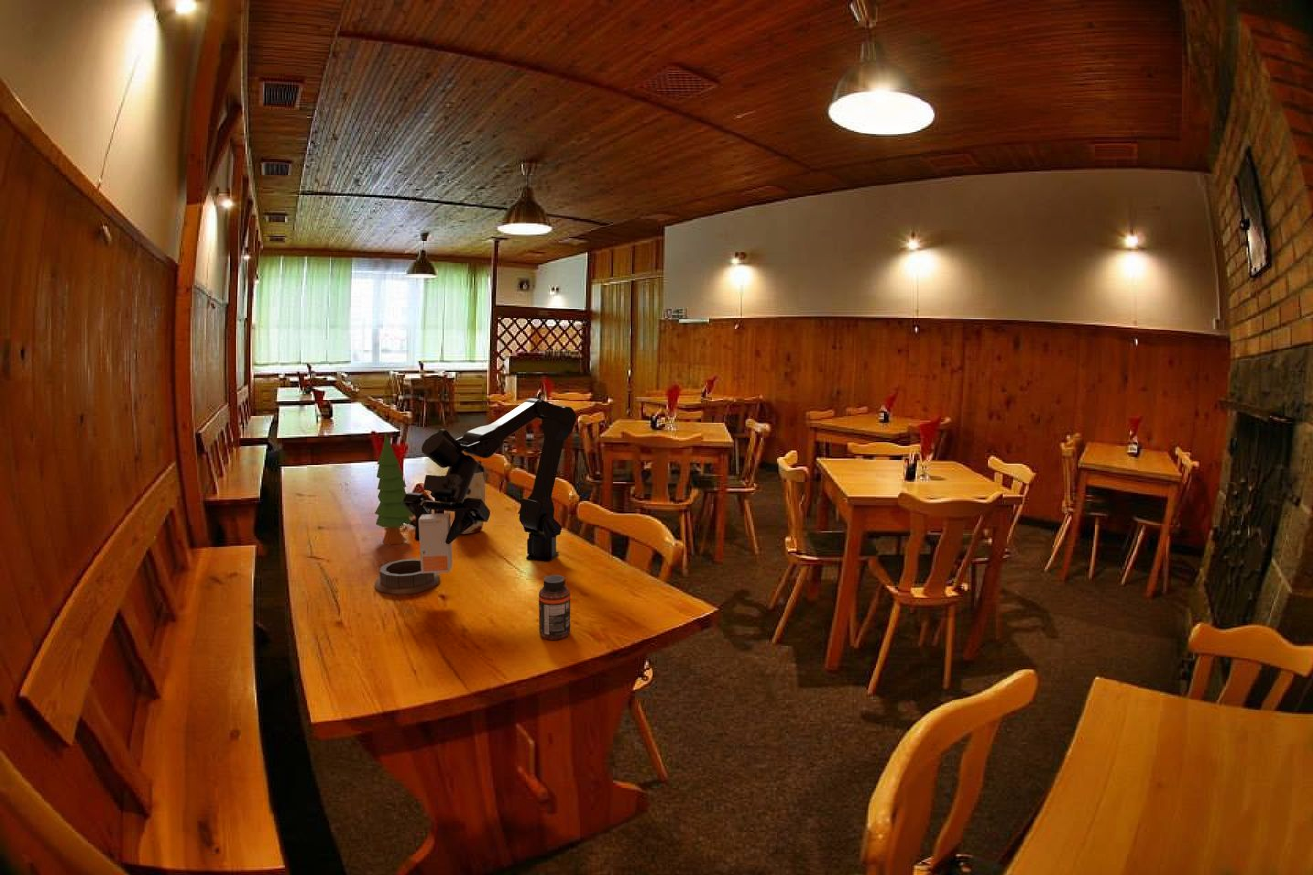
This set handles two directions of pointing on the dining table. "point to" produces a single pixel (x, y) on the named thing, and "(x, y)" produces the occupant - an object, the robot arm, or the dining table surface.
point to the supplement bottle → (554, 608)
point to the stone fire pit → (405, 578)
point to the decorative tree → (391, 496)
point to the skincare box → (435, 543)
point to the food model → (476, 492)
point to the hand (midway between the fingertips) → (431, 541)
